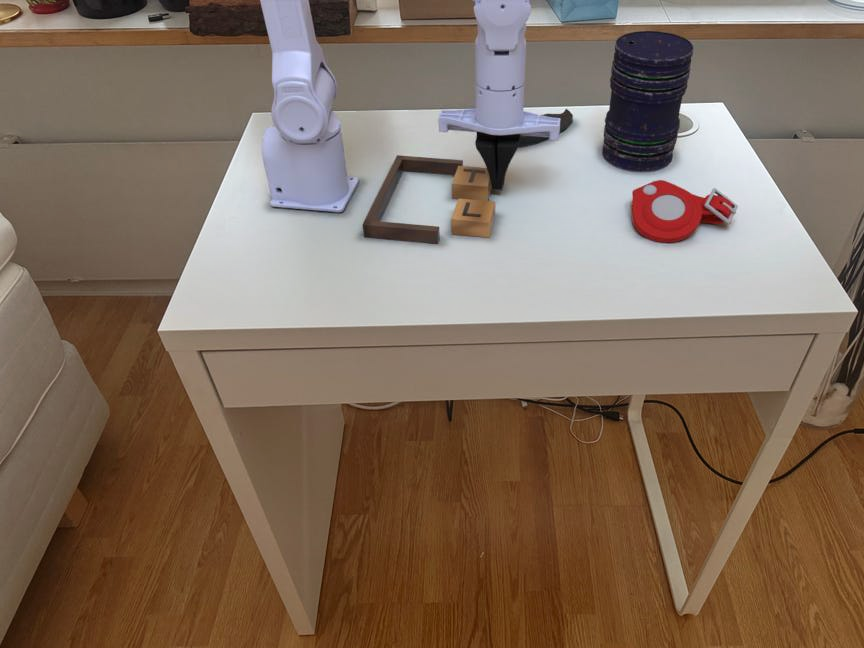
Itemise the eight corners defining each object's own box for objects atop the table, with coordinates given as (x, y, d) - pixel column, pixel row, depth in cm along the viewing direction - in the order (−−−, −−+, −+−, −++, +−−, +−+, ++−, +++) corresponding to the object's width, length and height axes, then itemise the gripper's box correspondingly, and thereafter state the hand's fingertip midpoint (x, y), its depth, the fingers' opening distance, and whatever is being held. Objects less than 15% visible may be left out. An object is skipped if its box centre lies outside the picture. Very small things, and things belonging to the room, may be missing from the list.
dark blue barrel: (675, 142, 105) (696, 34, 94) (671, 176, 98) (693, 63, 87) (605, 134, 106) (618, 27, 96) (596, 167, 100) (609, 56, 89)
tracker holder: (657, 245, 84) (613, 187, 89) (653, 268, 88) (612, 211, 93) (749, 203, 85) (701, 148, 90) (741, 227, 89) (695, 173, 94)
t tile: (452, 198, 94) (451, 182, 92) (458, 180, 97) (458, 164, 96) (487, 201, 93) (487, 185, 92) (493, 183, 97) (493, 167, 95)
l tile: (451, 234, 88) (451, 218, 86) (458, 213, 91) (458, 197, 90) (489, 237, 87) (489, 221, 86) (495, 217, 91) (495, 200, 89)
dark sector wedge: (585, 137, 106) (586, 127, 105) (495, 151, 103) (495, 140, 102) (563, 113, 112) (564, 102, 110) (478, 125, 109) (478, 114, 107)
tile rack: (363, 237, 88) (362, 224, 86) (397, 167, 100) (396, 154, 98) (438, 244, 86) (437, 231, 85) (463, 172, 99) (463, 160, 97)
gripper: (565, 71, 87) (557, 174, 96) (444, 63, 89) (448, 166, 98) (560, 96, 82) (552, 203, 91) (432, 88, 83) (437, 193, 93)
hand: (498, 186), depth 94 cm, fingers closed
